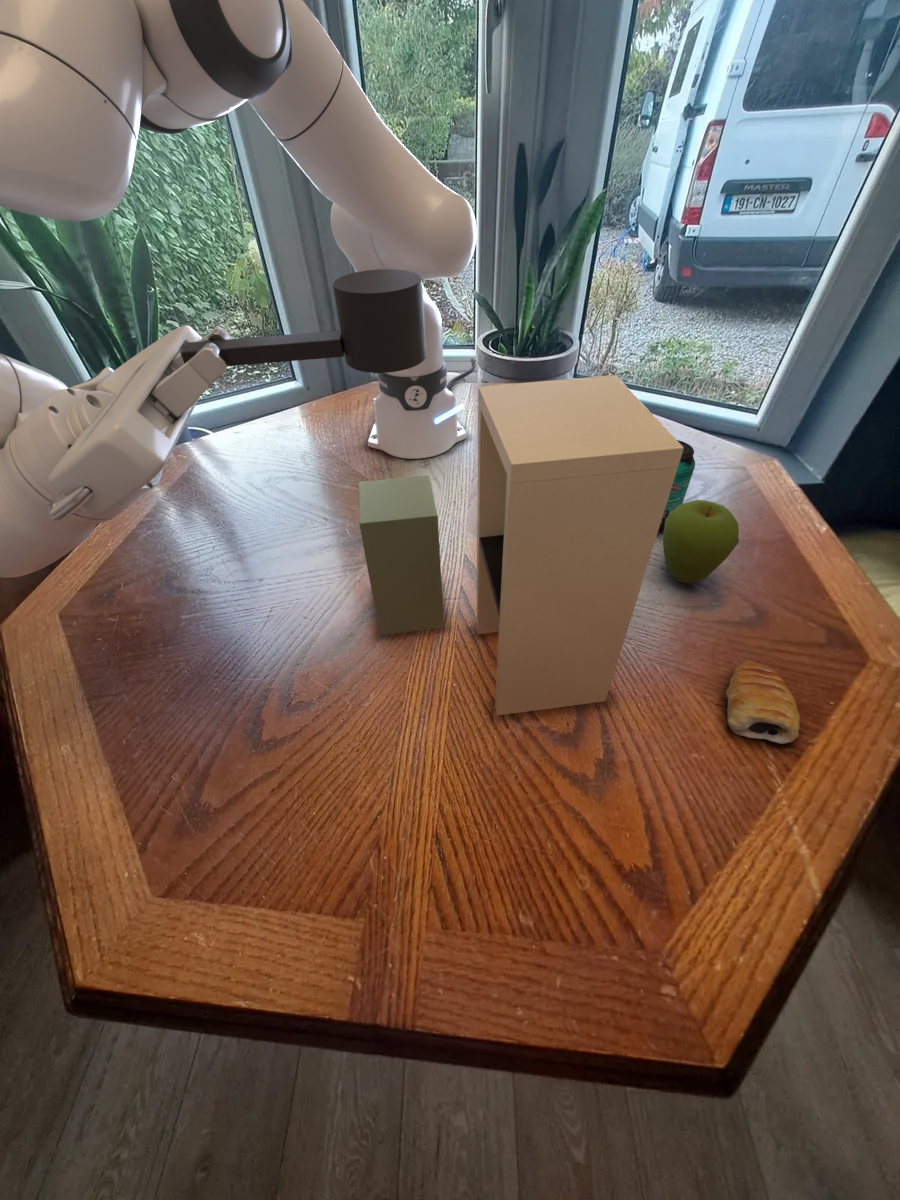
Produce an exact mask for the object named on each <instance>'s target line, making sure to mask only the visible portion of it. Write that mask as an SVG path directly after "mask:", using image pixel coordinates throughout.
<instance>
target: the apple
mask: <svg viewBox="0 0 900 1200" xmlns="http://www.w3.org/2000/svg"><path fill="white" fill-rule="evenodd" d="M739 527H740V526H739V522H738V520H737V518H736V517H735V515H734V514H733V513H732V512H731V511H730V510H729V509H728V508H727V507H726V506H725V505H723V504H720V503H718V502H714V501H711V500H705V499H695V500H690V501H687V502H683V504H680V505H679V506H678V507H676V508H675V509H674V510H673V511H672V512H671V513H670V514H669V515H668V517H667V518H666V519H665V525H664V531H663V533H662V534H663V535H662V549H663V557H664V564H665V566H666V569H667V570H668V572H669V573H670V575H671V576H672V577H673V578H674V579H675V581H678V582H679V583H683V584H694V583H697V582H699V581H702V580H704V579H706V578H707V577H708V576H710V575H711V574H712V572H714V571H715V570H716V569H717V568H718V567H719V566H720V565H721V564H723V563H724V562H725V561H726V559H727V558H728V557H729V556H730V555H731V553H732V552H733V551H734V549H735V548H736V547H737V546H738V544H739V542H740V541H739V538H740V537H739V534H740V528H739Z"/></svg>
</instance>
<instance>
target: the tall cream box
mask: <svg viewBox="0 0 900 1200" xmlns="http://www.w3.org/2000/svg"><path fill="white" fill-rule="evenodd" d="M477 390H478V393H477V397H478V398H477V404H478V405H477V410H478V411H477V505H476V506H477V510H476V511H477V516H476V517H477V521H476V522H477V524H476V526H477V528H476V532H477V533H476V543H477V544H476V631H477V634H478V635H483V634H492V633H498V639H497V641H498V642H497V659H496V660H497V661H496V678H495V695H494V696H495V698H494V709H495V713H496V716H505V715H513V714H521V713H526V712H527V713H528V712H535V711H541V710H549V709H557V708H564V707H566V708H567V707H572V706H573V707H574V706H579V705H588V704H595V703H603V702H606V701H607V698H608V694H609V690H610V688H611V685H612V681H613V678H614V675H615V671H616V669H617V665H618V662H619V659H620V656H621V652H622V649H623V645H624V642H625V640H626V637H627V633H628V630H629V627H630V623H631V619H632V618H633V613H634V611H635V607H636V605H637V601H638V597H639V595H640V591H641V588H642V584H643V582H644V578H645V574H646V571H647V568H648V565H649V562H650V560H651V556H652V552H653V549H654V546H655V543H656V540H657V537H658V533H659V532H658V530H659V527H660V523H661V520H662V517H663V514H664V510H665V507H666V504H667V501H668V498H669V494H670V491H671V488H672V485H673V481H674V478H675V475H676V472H677V469H678V465H679V462H680V459H681V456H682V452H683V449H684V447H683V446H682V445H681V444H680V443H679V442H678V441H677V440H678V439H676V438H675V436H674V435H673V434H672V433H671V432H669V430H668V429H667V428H666V426H664V425H663V423H661V421H659V419H658V418H657V417H656V416H655V415H654V414H653V413H652V411H650V410H649V409H648V408H647V407H646V405H644V404H643V402H642V401H641V400H640V399H639V398H638V397H637V396H636V395H635V393H634V392H632V390H631V389H630V388H629V387H627V385H626V384H625V383H624V382H623V380H621V379H620V378H619V377H618V376H617V374H613V375H612V374H611V375H599V376H588V377H577V378H564V379H554V380H553V379H552V380H543V381H530V382H529V381H528V382H518V383H517V382H516V383H508V384H496V385H484V386H482V385H481V386H478V389H477Z"/></svg>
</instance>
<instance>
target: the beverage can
mask: <svg viewBox="0 0 900 1200" xmlns="http://www.w3.org/2000/svg"><path fill="white" fill-rule="evenodd" d="M676 440H677V441H678V442H679V443H680V444H681V445H682V446H683V447H684V449H683V452H682V456H681V459H680V462H679V465H678V469H677V472H676V475H675V478H674V481H673V485H672V488H671V491H670V494H669V498H668V501H667V504H666V507H665V510H664V514H663V517H662V520H661V523H660V527H659V530H658V533H661V532H664V525H665V519H666V518H667V517H668V515H669V514H670V513H671V512H672V511H673V510H674V509H675V508H676V507H678V506H679V505H680V504H683V503H684V500H685V497H686V496H687V491H688V489H689V486H690V482H691V480H692V477H693V474H694V471H695V468H696V460H695V458H694V455H695V449H694V448H693V446H691V444H688V443H687V442H685V441H682V440H678V439H676Z"/></svg>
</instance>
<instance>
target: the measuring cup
mask: <svg viewBox="0 0 900 1200" xmlns="http://www.w3.org/2000/svg"><path fill="white" fill-rule="evenodd" d="M422 284H423V279H422V278H421V276H420V275H418V274H416V273H414V272H410V271H405V270H394V269H380V270H368V271H361V272H351V273H348V274H345V275H342V276H340V277H338V278H336V279H335V280H334V281H333V283H332V288H333V293H334V300H335V306H336V311H337V318H338V324H339V330H330V331H329V330H328V331H317V332H305V333H291V334H279V335H266V336H253V337H243V338H242V337H240V338H233V339H227V340H214V341H201V342H188V343H186V344H185V346H184V348H183V349H182V351H181V352H180V353H181V356H182V359H183V361H184V364H185V363H186V362H187V361H189V360H190V359H191V358H192V356H193V355H194V354H195V353H196V352H198V351H199V350H200V349H201V348H202V347H204V346H205V345H206V344H207V343H213V344H215V345H216V346H217V347H218V348H219V349H220V351H221V352H222V353H224V355H225V356H226V357H227V358H228V362H229V363H228V365H227V367H236V366H247V365H259V364H271V363H272V364H273V363H283V362H296V361H309V360H320V359H332V358H334V359H335V358H343V357H344V359H345V364H346V365H347V366H348V367H349V368H351V369H353V370H356V371H359V372H363V373H369V374H372V373H373V374H378V373H389V372H396V371H402V370H406V369H409V368H412V367H414V366H417V365H418V364H420V363H421V362H423V361H424V360H425V358H426V340H425V324H424V308H423V291H422Z"/></svg>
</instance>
